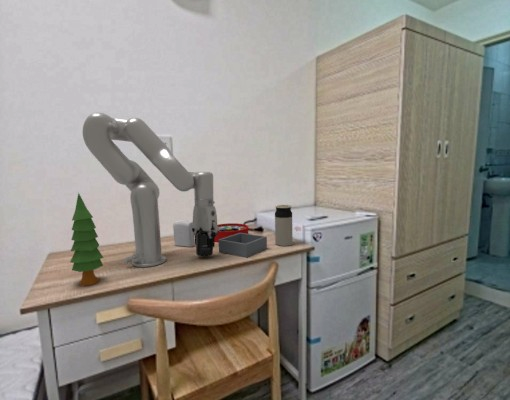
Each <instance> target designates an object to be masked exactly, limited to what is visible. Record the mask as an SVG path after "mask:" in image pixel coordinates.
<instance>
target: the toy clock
mask: <svg viewBox="0 0 510 400" xmlns="http://www.w3.org/2000/svg"><path fill="white" fill-rule="evenodd" d="M217 226H218V227H219V229H220V231H219V232H218V234H217V235H216V237H215V243H218V240H219V239H222V238H225V237H229V236H232V235H235V234H238V233H245V234H250V233H249V225H247V224H243V223H237V222H236V223H235V222H234V223H233V222H232V223H231V222H230V223H220V224H218V223H217ZM214 231H215V230H214ZM218 244H219V243H218Z"/></svg>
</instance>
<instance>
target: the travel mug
mask: <svg viewBox="0 0 510 400" xmlns="http://www.w3.org/2000/svg"><path fill="white" fill-rule="evenodd" d="M275 209H276V210H275V212H274V235H275V236H274V237H275V238H274V239H275V240H274V241H275V242H274V243H275V245H276V246H280V247H289V246H292V245H293V244H294V243H293V242H294V241H293V212H292V205H290V204H278V205H275Z"/></svg>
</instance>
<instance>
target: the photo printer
mask: <svg viewBox="0 0 510 400" xmlns="http://www.w3.org/2000/svg"><path fill="white" fill-rule="evenodd" d="M192 222H193V221H191V220H188V219H178V220H176V221H174V222H173V225H172V227H173V241H174V245H175V246H179V247H189V248H192V247H194V246H196V245H195V235H194V233H193V231H192V229H191V227H190V224H191V223H192Z"/></svg>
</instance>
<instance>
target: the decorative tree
mask: <svg viewBox="0 0 510 400" xmlns="http://www.w3.org/2000/svg"><path fill="white" fill-rule="evenodd" d="M93 218H94V217H93V215H92V214H91V212H90V211H89V210H88V208H87V205H86V204H85V203H84V200H83V199H82V196H81V194H80V193H79V192H78V194H77V199H76V204H75V210H74V213H73V215H72V218H71V221H73V223H72V227H71V231H73V233H72V237H71V241H74V242H73V244H72V247H71V249H70V252H74V253H73V255H72V256H71V257H72V258H71V259H70V261H69V262H70V263H73V265H72V269H71V271H74V272H78V273H82V275H81V280H80V282H79V285H80V286H82V287H83V286H92V285H95V284H96V283H98V282H99V281H100V278H98V277H97V276H96V274H95V270H97V269H99V268H101V267H103V266H104V265H103V262H102V261H101V259H104V256H103V254H102V252H101V251H100V250H99V249H98V248H99V246H100V243H99V242H98V240H97V239H96V238H99V236H98V234H97V232H96V230H95V229H96V228H97V227H96V225H95V222H94V221H93Z"/></svg>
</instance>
